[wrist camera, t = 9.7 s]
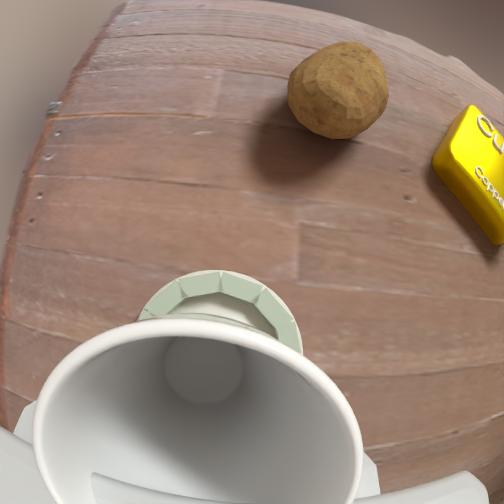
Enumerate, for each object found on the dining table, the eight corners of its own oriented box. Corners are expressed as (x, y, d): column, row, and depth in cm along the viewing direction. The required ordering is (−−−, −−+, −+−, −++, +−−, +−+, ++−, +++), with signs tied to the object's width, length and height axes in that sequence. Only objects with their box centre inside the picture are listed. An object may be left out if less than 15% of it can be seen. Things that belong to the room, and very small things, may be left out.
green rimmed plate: (225, 237, 25) (224, 231, 23) (333, 360, 24) (341, 362, 22) (102, 341, 22) (94, 342, 21) (210, 461, 21) (209, 470, 19)
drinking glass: (139, 385, 17) (18, 509, 3) (176, 295, 19) (79, 245, 4) (233, 423, 18) (284, 594, 3) (270, 335, 19) (420, 380, 5)
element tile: (425, 166, 30) (447, 147, 25) (455, 114, 33) (472, 97, 28) (496, 253, 28) (521, 244, 23) (515, 186, 31) (534, 174, 27)
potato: (382, 99, 31) (410, 57, 23) (347, 178, 28) (382, 134, 20) (314, 62, 31) (330, 15, 23) (260, 129, 28) (271, 74, 20)
